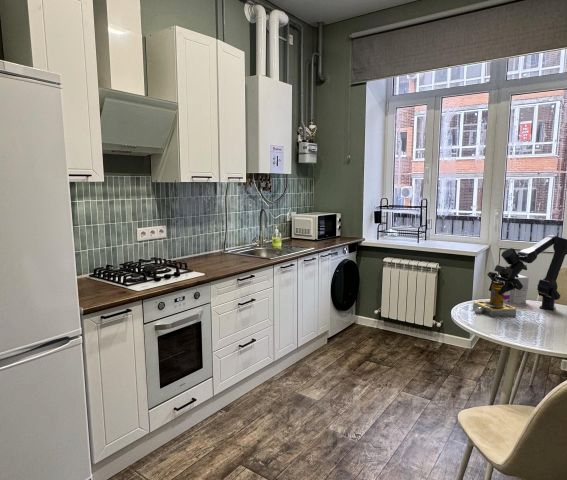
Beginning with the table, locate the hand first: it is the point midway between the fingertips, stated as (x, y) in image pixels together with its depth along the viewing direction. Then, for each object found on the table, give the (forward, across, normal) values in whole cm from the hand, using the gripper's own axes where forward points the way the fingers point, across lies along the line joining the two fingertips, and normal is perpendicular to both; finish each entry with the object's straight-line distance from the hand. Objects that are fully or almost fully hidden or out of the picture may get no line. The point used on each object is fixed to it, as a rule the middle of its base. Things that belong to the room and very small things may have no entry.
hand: (493, 292), depth 205 cm
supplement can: (-5, -14, +21) cm, 26 cm away
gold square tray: (+8, 0, +7) cm, 11 cm away
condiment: (+4, 0, +6) cm, 7 cm away
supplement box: (-12, -16, +28) cm, 35 cm away
